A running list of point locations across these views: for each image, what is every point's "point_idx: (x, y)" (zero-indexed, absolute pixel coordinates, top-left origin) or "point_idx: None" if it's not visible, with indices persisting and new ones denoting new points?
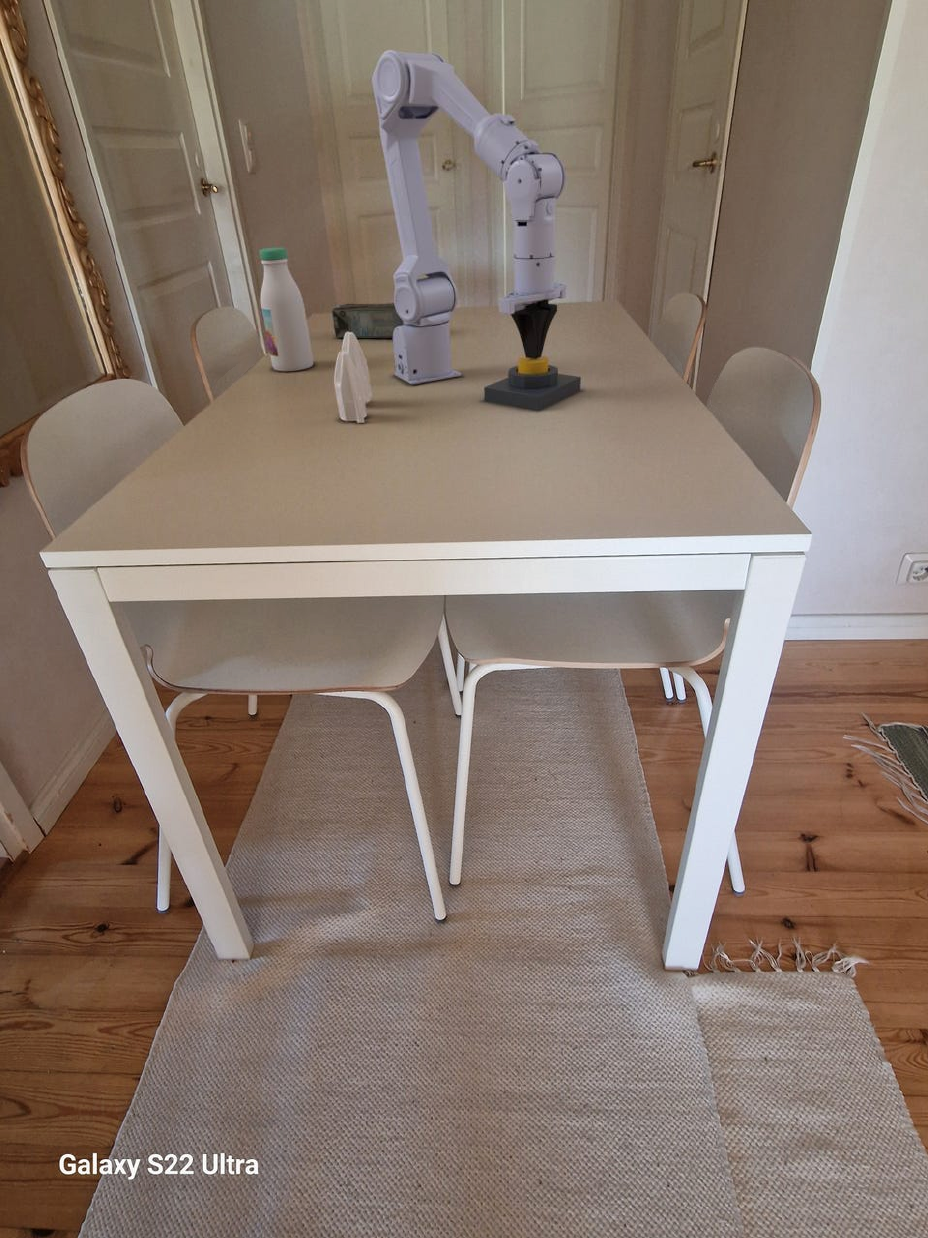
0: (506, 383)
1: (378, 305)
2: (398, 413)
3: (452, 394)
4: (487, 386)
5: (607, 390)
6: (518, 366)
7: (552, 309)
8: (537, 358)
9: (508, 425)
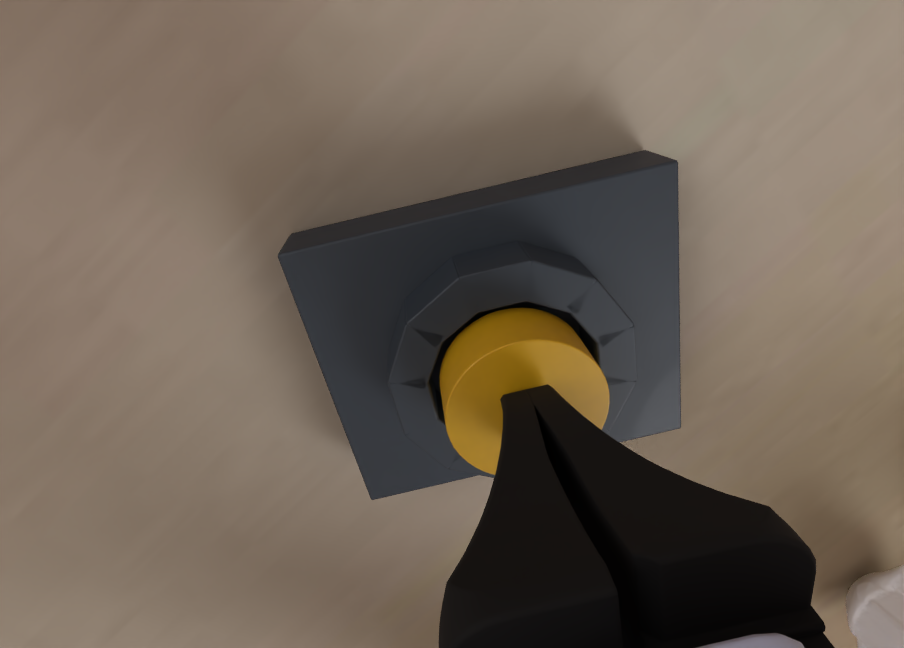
0: None
1: None
2: (888, 472)
3: None
4: (667, 426)
5: (170, 140)
6: None
7: (571, 575)
8: None
9: (865, 102)
